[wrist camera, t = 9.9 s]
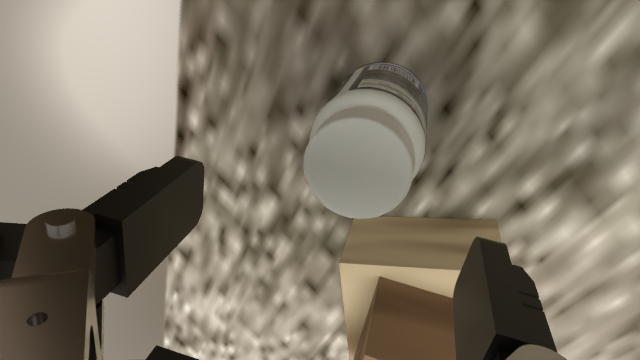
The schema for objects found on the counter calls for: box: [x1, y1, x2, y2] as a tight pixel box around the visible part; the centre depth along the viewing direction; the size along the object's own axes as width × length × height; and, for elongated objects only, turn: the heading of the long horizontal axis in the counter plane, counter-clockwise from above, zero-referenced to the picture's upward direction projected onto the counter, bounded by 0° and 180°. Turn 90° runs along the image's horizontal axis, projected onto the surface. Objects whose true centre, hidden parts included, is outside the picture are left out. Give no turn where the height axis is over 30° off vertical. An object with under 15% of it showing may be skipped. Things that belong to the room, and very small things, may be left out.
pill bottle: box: [303, 63, 427, 219], centre depth 19 cm, size 5×5×8 cm
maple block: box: [339, 216, 501, 360], centre depth 24 cm, size 8×8×5 cm
